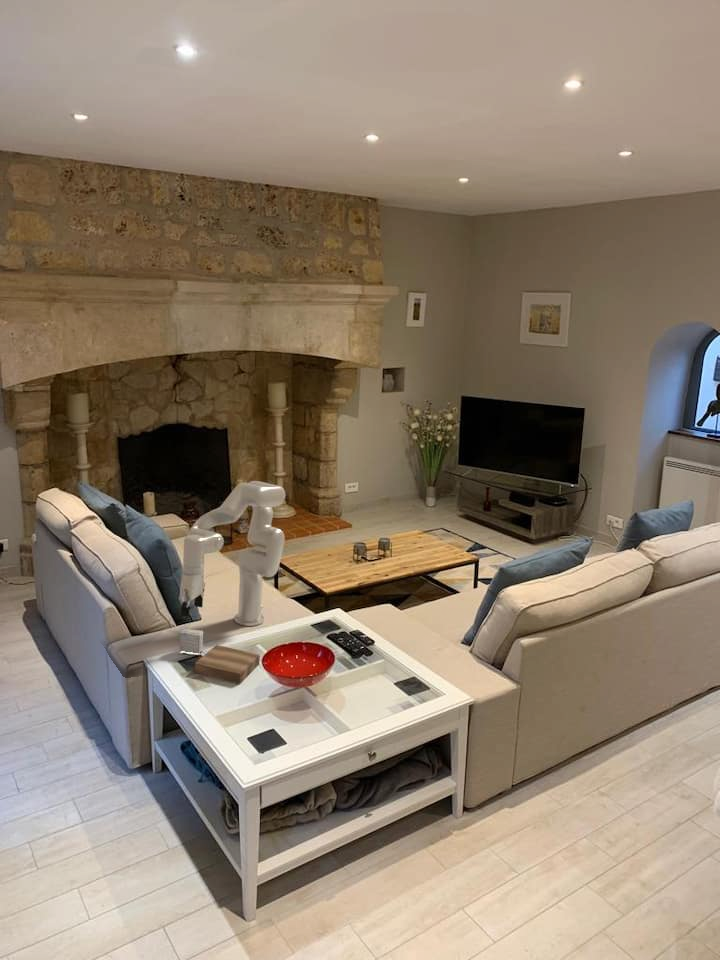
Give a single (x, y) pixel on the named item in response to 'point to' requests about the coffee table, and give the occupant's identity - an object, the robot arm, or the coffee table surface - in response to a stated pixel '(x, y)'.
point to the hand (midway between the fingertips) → (191, 611)
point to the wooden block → (227, 664)
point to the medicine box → (191, 640)
